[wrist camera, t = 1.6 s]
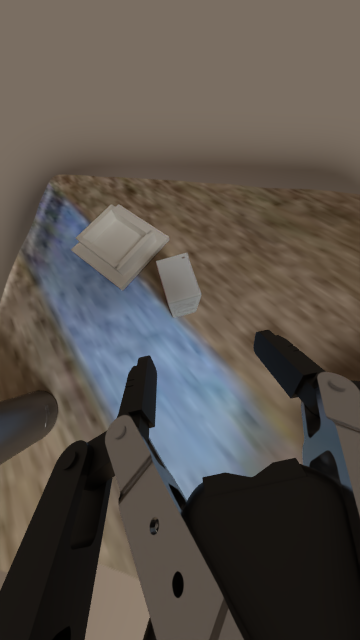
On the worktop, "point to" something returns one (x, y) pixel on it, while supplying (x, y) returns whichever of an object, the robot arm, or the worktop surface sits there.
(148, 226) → the off-white tray
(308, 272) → the worktop surface
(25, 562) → the robot arm
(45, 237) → the worktop surface
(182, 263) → the small box
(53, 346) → the worktop surface
